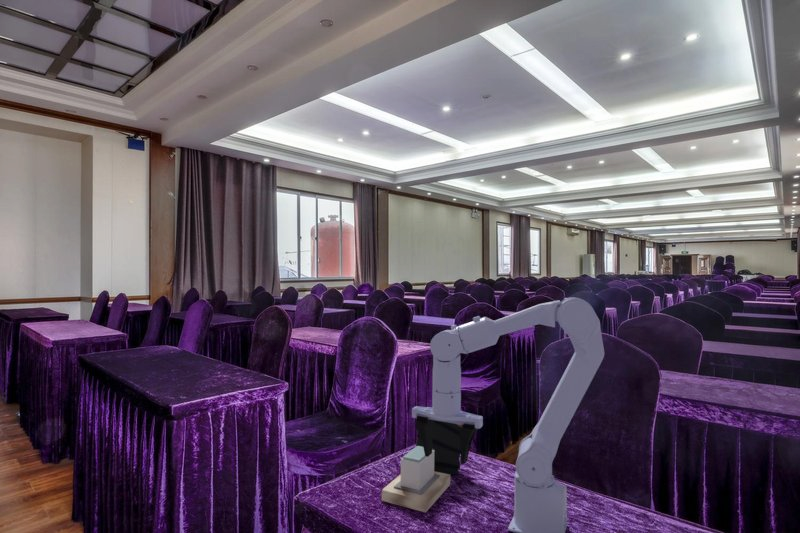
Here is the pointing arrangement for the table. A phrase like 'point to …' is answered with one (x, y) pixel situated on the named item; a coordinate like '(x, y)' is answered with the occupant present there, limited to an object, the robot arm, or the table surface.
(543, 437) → the robot arm
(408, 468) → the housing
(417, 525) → the table surface
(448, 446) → the magazine
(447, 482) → the stand
